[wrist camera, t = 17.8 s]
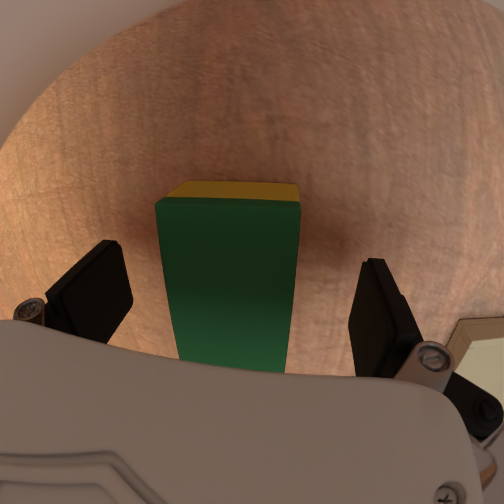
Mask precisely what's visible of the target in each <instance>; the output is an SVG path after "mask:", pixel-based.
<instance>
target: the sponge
mask: <svg viewBox="0 0 504 504" xmlns="http://www.w3.org/2000/svg"><path fill="white" fill-rule="evenodd" d="M155 211H156V220H157V229H158V237H159V245H160V252H161V260H162V266H163V273H164V280H165V286H166V292H167V298H168V303H169V309H170V314H171V320H172V325H173V330H174V335H175V340H176V345H177V349H178V354H179V359H180V360H185V361H191V362H197V363H204V364H211V365H218V366H225V367H232V368H241V369H249V370H259V371H269V372H281V373H284V372H285V364H286V357H287V349H288V341H289V333H290V324H291V315H292V306H293V297H294V287H295V277H296V267H297V256H298V244H299V232H300V219H301V205H300V197H299V189H298V185H297V184H286V183H266V182H239V181H185V182H184V183H183V184H181V185H180V186H178V187H177V188H176V189H174V190H173V191H172V192H170V193H169V194H167V195H166V196H165V197H163V198H162V199H161V200H159V201H158V202H157V203H155Z"/></svg>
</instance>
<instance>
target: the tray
mask: <svg viewBox="0 0 504 504" xmlns="http://www.w3.org/2000/svg"><path fill="white" fill-rule="evenodd" d="M447 348H448V349H449V350H450V351H451V353H452V355H453V356H454V360H455V366H454V369H453V371H454V372H456V373H457V374H459V375H461V376H462V377H464V378H465V379H467V380H469V381H470V382H472V383H474V384H475V385H477V386H478V387H480V388H482V389H483V390H485V391H487V392H488V393H490V394H491V395H493V396H494V397H496V398H497V399H498V400H499V402H500V403H501V405H502V407H503V410H504V317H502V318H486V319H465V320H459V322H458V325H457V327H456V329H455V331H454V333H453V335H452V337H451V339H450V341H449V343H448V345H447ZM503 421H504V419H503Z"/></svg>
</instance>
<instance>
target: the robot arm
mask: <svg viewBox="0 0 504 504" xmlns="http://www.w3.org/2000/svg"><path fill="white" fill-rule="evenodd" d="M45 295H46V298H47V300H48V302H47V303H46V304H45V302H44V300H43V299H41V298H30V299H28V300H25V301H24V302H22V303H21V304H20V305H18V306H17V308H16V309H15V311H14V315H13V320H0V504H504V421H503V419H504V410H503V407H502V405H501V403H500V402H499V400H498V399H497V398H496V397H494V396H493V395H491V394H490V393H488V392H487V391H485V390H483V389H482V388H480V387H478V386H477V385H475V384H474V383H472V382H470V381H469V380H467V379H465V378H464V377H462V376H461V375H459V374H457V373H456V372H454V371H453V369H454V366H455V360H454V356H453V355H452V353H451V351H450V350H449V349H448V348H447V347H445V346H444V345H442V344H440V343H438V342H435V341H424V340H423V338H422V335H421V333H420V331H419V328H418V326H417V324H416V321H415V319H414V317H413V314H412V312H411V310H410V307H409V305H408V303H407V301H406V299H405V297H404V295H401V294H400V291H399V289H398V287H397V285H396V283H395V281H394V279H393V276H392V274H391V272H390V270H389V268H388V266H387V264H386V262H385V260H384V259H378V258H368V260H367V262H364V261H363V263H362V266H361V271H360V275H359V280H358V284H357V288H356V293H355V297H354V301H353V305H352V309H351V313H350V316H349V321H348V329H349V335H350V341H351V347H352V353H353V359H354V366H355V373H356V377H354V376H334V375H310V374H294V373H281V372H269V371H259V370H249V369H241V368H232V367H225V366H218V365H211V364H204V363H197V362H191V361H185V360H179V359H174V358H168V357H163V356H158V355H153V354H148V353H143V352H138V351H134V350H129V349H125V348H121V347H116V346H112V345H108V344H107V343H108V341H109V340H110V338H111V337H112V335H113V334H114V332H115V331H116V329H117V328H118V326H119V325H120V323H121V322H122V320H123V319H124V317H125V316H126V314H127V313H128V312H129V310H130V309H131V307H132V305H133V296H132V292H131V288H130V283H129V279H128V275H127V271H126V266H125V262H124V257H123V252H122V248H121V246H120V245H119V244H118V242H117V241H115V240H102V241H101V242H100V243H99V244H98V245H96V246H95V247H94V248H93V249H92V250H91V251H90V252H88V253H87V254H86V255H85V256H84V257H83V258H82V259H81V260H79V261H78V262H77V263H76V264H75V265H74V266H73V267H72V268H71V269H70V270H69V271H67V272H66V273H65V274H64V275H63V276H62V277H61V278H60V279H59V280H58V281H57V282H56V283H55V284H54V285H53V286H52V287H51V288H50V289H49V290H48V291H47V292H46V293H45Z"/></svg>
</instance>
